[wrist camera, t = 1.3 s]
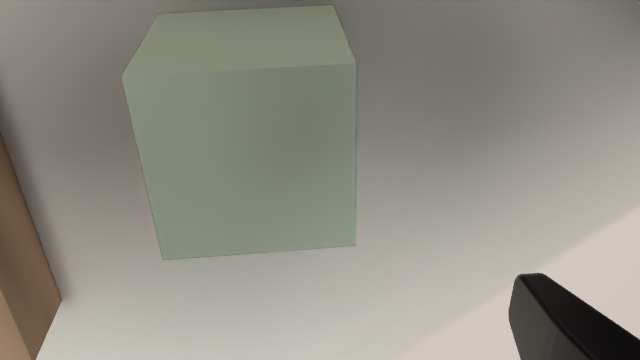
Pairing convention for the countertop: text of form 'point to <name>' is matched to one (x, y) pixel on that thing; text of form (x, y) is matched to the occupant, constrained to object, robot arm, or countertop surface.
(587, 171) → the countertop surface
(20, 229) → the walnut base
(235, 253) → the sage block
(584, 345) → the robot arm
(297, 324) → the countertop surface
